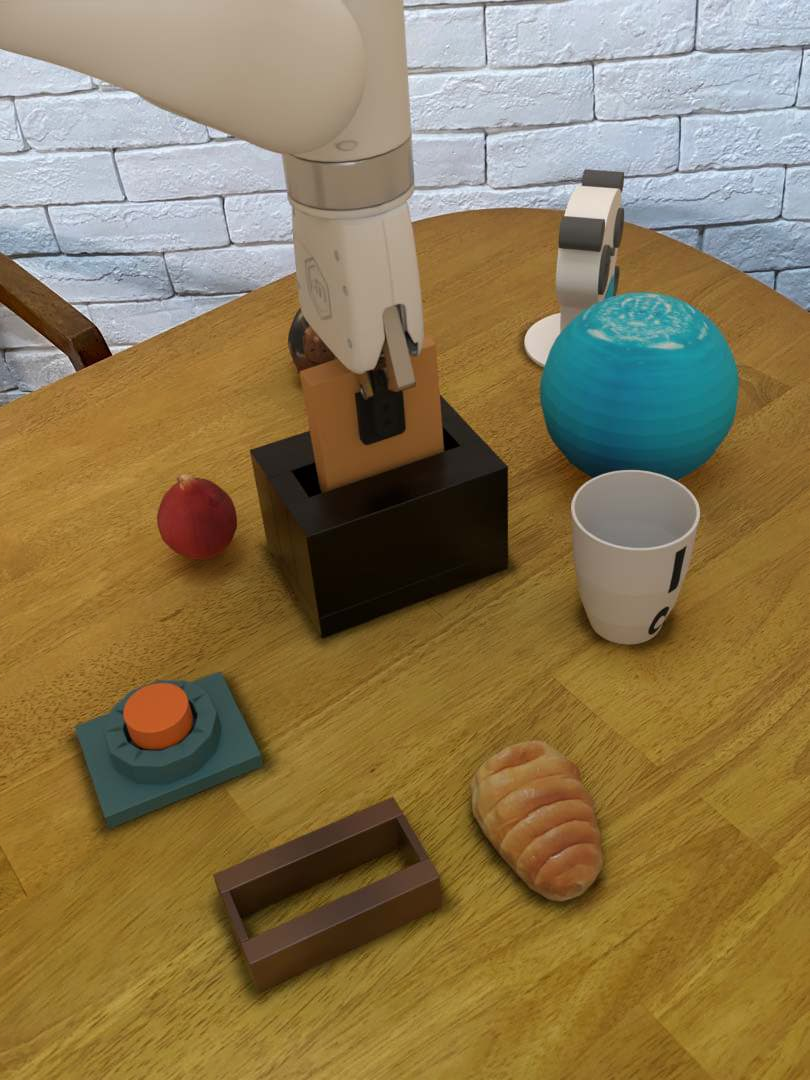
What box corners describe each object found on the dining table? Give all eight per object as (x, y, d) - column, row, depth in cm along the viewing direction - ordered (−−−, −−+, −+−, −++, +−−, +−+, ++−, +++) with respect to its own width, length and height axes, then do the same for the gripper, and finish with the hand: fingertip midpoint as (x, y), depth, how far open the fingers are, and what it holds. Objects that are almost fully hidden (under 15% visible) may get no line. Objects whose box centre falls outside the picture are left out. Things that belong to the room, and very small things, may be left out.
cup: (674, 671, 75) (689, 559, 69) (554, 647, 77) (558, 537, 71) (692, 590, 81) (707, 480, 74) (580, 570, 83) (586, 461, 76)
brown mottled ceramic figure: (279, 415, 101) (263, 333, 96) (315, 336, 112) (302, 260, 108) (386, 413, 99) (375, 330, 94) (411, 334, 111) (402, 257, 106)
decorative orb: (511, 503, 89) (511, 338, 80) (572, 402, 99) (579, 244, 90) (700, 548, 84) (725, 377, 74) (744, 437, 94) (772, 273, 84)
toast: (330, 505, 79) (310, 385, 72) (319, 489, 80) (298, 371, 73) (445, 463, 81) (436, 343, 74) (433, 448, 82) (422, 330, 76)
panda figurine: (634, 387, 101) (647, 230, 91) (510, 372, 104) (510, 218, 94) (654, 320, 109) (669, 169, 99) (539, 307, 112) (542, 161, 102)
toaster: (322, 639, 79) (306, 537, 73) (267, 548, 87) (249, 449, 81) (508, 568, 84) (508, 466, 77) (441, 488, 91) (436, 389, 85)
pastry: (632, 883, 63) (636, 844, 61) (522, 925, 62) (522, 887, 59) (559, 759, 70) (560, 719, 68) (458, 794, 69) (456, 755, 66)
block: (109, 829, 68) (97, 799, 66) (78, 737, 74) (67, 707, 72) (263, 766, 71) (257, 735, 69) (223, 682, 77) (216, 652, 75)
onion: (218, 522, 90) (200, 440, 85) (258, 557, 86) (242, 474, 81) (154, 555, 87) (131, 473, 82) (193, 593, 84) (172, 510, 78)
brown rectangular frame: (257, 993, 60) (249, 965, 58) (221, 903, 64) (212, 874, 62) (442, 906, 63) (440, 876, 61) (396, 826, 67) (393, 795, 65)
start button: (139, 760, 69) (132, 741, 68) (122, 715, 72) (116, 697, 70) (201, 735, 70) (196, 716, 69) (182, 692, 73) (177, 674, 72)
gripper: (242, 137, 70) (282, 387, 82) (343, 237, 59) (373, 508, 71) (353, 111, 72) (376, 358, 84) (470, 202, 61) (478, 471, 73)
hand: (374, 425), depth 77 cm, fingers closed on toast, 2 cm apart
